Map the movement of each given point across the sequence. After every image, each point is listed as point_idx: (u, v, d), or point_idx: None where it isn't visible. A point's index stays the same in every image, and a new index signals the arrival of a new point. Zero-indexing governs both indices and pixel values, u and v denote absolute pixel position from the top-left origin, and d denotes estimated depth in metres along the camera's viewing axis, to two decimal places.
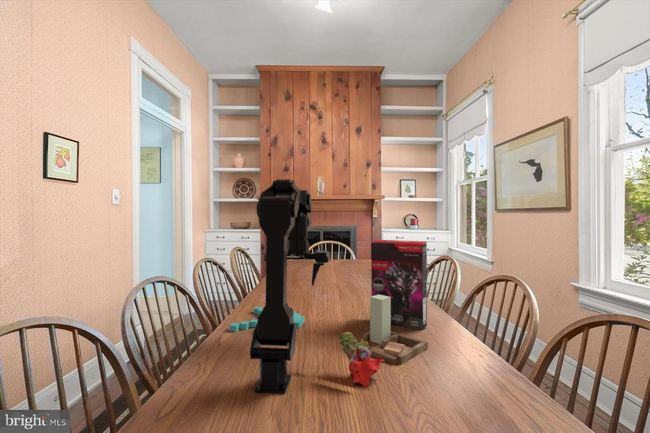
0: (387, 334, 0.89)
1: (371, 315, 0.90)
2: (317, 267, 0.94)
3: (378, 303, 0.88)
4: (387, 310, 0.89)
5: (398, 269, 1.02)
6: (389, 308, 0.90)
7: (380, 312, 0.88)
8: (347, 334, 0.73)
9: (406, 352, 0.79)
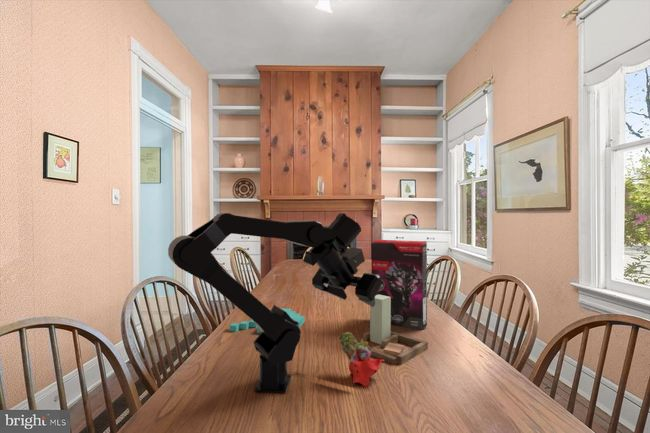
0: (387, 334, 0.89)
1: (371, 315, 0.90)
2: (364, 301, 0.76)
3: (378, 303, 0.88)
4: (387, 310, 0.89)
5: (398, 269, 1.02)
6: (389, 308, 0.90)
7: (380, 312, 0.88)
8: (347, 334, 0.73)
9: (406, 352, 0.79)
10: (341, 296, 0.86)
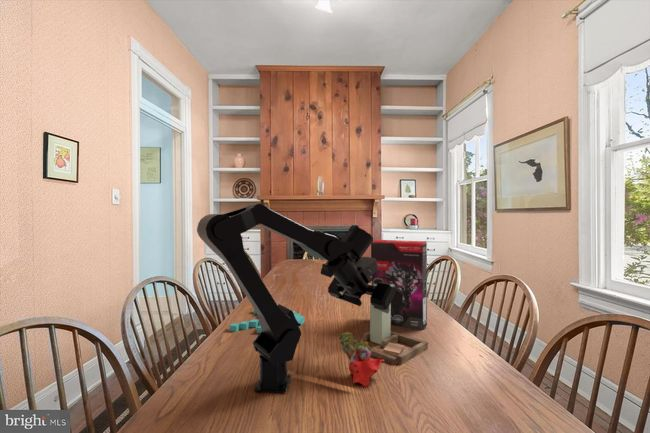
0: (387, 334, 0.89)
1: (371, 315, 0.90)
2: (379, 309, 0.79)
3: None
4: None
5: (398, 269, 1.02)
6: (389, 308, 0.90)
7: (380, 312, 0.88)
8: (347, 334, 0.73)
9: (406, 352, 0.79)
10: (356, 303, 0.90)
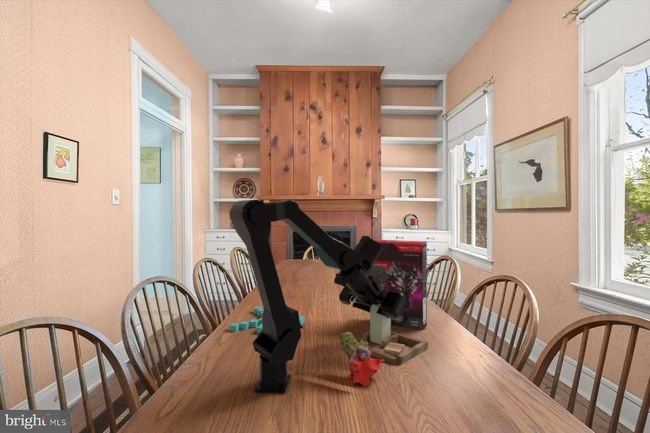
0: (387, 334, 0.89)
1: (371, 315, 0.90)
2: (382, 315, 0.84)
3: None
4: None
5: (398, 269, 1.02)
6: None
7: None
8: (347, 334, 0.73)
9: (406, 352, 0.79)
10: None
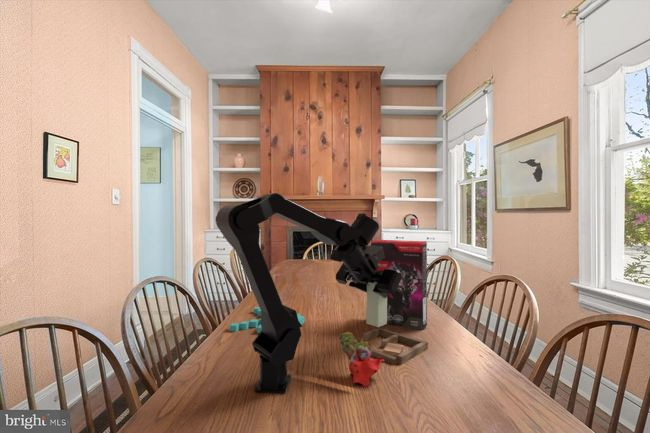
0: (384, 313, 0.89)
1: (368, 295, 0.90)
2: (378, 293, 0.84)
3: None
4: None
5: (398, 269, 1.02)
6: None
7: None
8: (347, 334, 0.73)
9: (406, 352, 0.79)
10: None
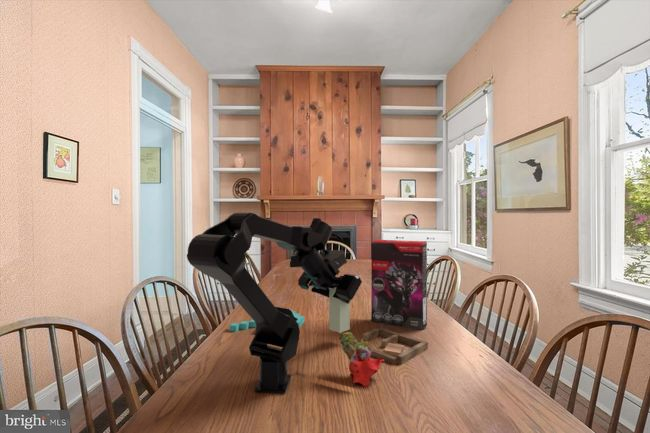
0: (346, 319, 0.88)
1: (330, 300, 0.89)
2: (338, 298, 0.83)
3: None
4: None
5: (398, 269, 1.02)
6: None
7: None
8: (347, 334, 0.73)
9: (406, 352, 0.79)
10: None
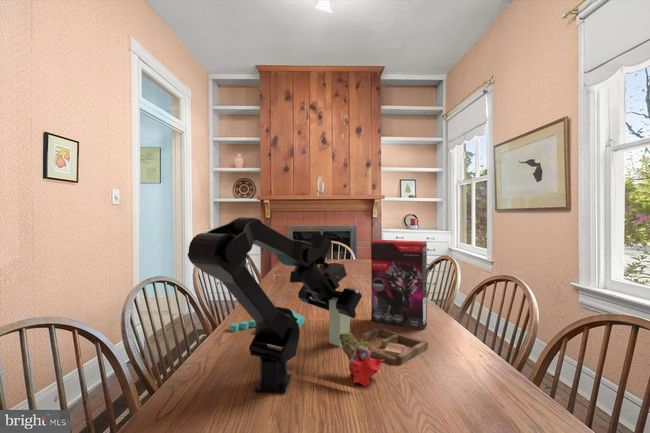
0: None
1: (330, 317, 0.89)
2: (344, 314, 0.82)
3: None
4: None
5: (398, 269, 1.02)
6: None
7: (338, 313, 0.87)
8: (347, 334, 0.73)
9: (406, 352, 0.79)
10: (327, 308, 0.92)
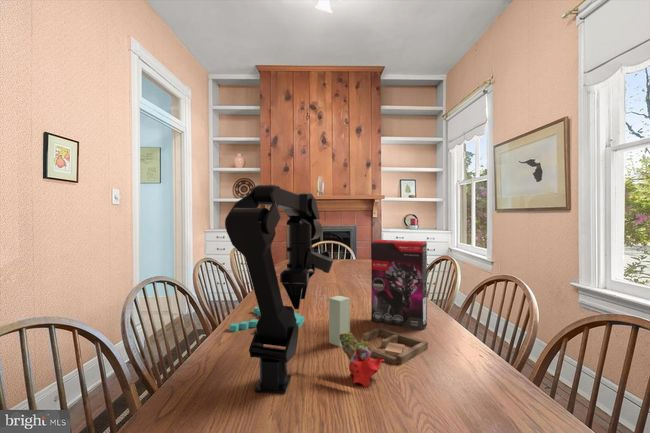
0: None
1: (330, 317, 0.89)
2: None
3: (336, 304, 0.87)
4: (346, 311, 0.88)
5: (398, 269, 1.02)
6: (348, 309, 0.89)
7: (338, 313, 0.87)
8: (347, 334, 0.73)
9: (406, 352, 0.79)
10: None
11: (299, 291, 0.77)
